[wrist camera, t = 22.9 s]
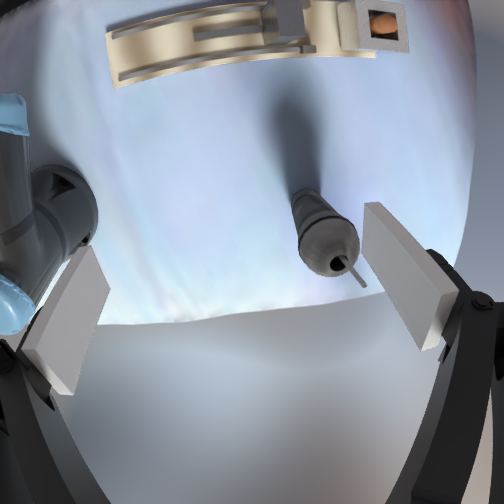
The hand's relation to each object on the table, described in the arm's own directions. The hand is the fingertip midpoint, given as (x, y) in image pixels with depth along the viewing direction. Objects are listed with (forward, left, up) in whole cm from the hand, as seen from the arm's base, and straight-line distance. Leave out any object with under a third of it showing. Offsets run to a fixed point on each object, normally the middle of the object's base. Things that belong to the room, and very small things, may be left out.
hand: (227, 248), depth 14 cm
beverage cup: (+10, -12, -29) cm, 33 cm away
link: (+19, +13, -27) cm, 35 cm away
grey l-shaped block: (+3, +13, -27) cm, 30 cm away
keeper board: (+4, +13, -29) cm, 32 cm away
